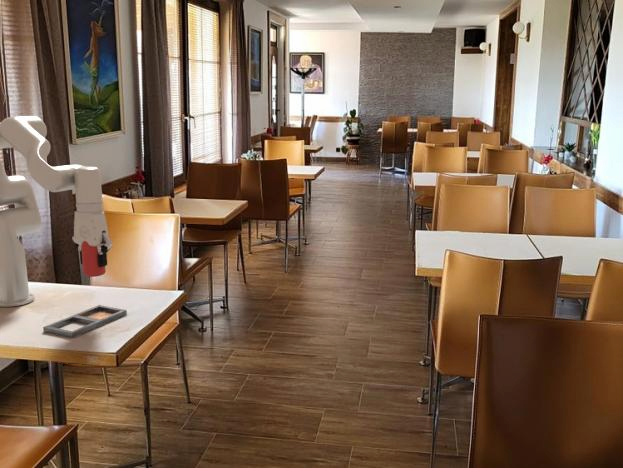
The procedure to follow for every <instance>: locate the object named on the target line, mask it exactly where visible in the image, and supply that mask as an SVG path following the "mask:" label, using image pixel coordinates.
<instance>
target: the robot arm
mask: <svg viewBox="0 0 623 468" xmlns="http://www.w3.org/2000/svg"><path fill="white" fill-rule="evenodd" d="M47 133H48V129H47V125H46V124H45V122H44V121H43V120H42V119H41V118H40V117H38V116H35V115H21V116H20V115H17V116H16V115H14V116H9V117H6V118H4V119H3V120H1V122H0V150H1V149H12V148H13V149H15V150H16V151H17V152H18V153H19V154H21V156H22V157H24V158H25V159H26V167H27V168H26V169H27V170H28V173H29V175H30V177H31V178H32V180H34V181H35V182H36V183H37V184H38V185H39V186H41V187H42V188H43V189H44V190H46V191H49V192H51V193H59V192H65V191H72V190H75V201H76V202H75V207H76V211H75V213H74V221H73V236H72V237H71V239H72V242H73V243H74V244H75V246H76V248H77V252H79V257H80V258H79V260H80V265H83V263H82V250H81V244H82V242H84V241H86V242H88V244H89V245H90V246H94V247H97V250H98V252H99V254H98V267H103V266H105V267H106V266H108V253H109V251H110V250H111V247H112V246H113V245H114V241H112V239H111V237H109V231H108V225H107V219H106V218H107V217H106V215H105V212H104V203H103V192H102V191H103V190H102V176H101V170H100V168H98V167H96V166H85V165H81V164H66V165H65V164H64V165H57V166H51V165H49V164H48V162H46V161H45V159H46V158H47V157H48V156H49V154H50V152H51V147H52V146H51V143H50V141H49V140H48V139H46V136H47ZM10 205H14V207H11V208H6V209H1V210H0V307H1V308H10V307H18V306H24V305H27V304H29V303H32V302H33V301H35V295H34V293H30V291H29V290H30V289H29V281H28V278H29V277H28V270H27V259H26V251H25V248H24V245H23V244H22V243H21V241H20V240H19V239H18V237H20V236H25V235H29V234H33V233H35V232H37V231H39V229H40V228H41V225H42V217H41V212H40V209H39V206H38V202H37V199H36V196H35V192H34V189H33V186H32V184H31V182H30V181H29V180H28V179H27V178H26V177H25V176H23V175H20V174H19V175H16V174H13V175H7V173H6V170H5V167H4V163H3V162H2V160H1V159H0V207H3V206H10ZM101 242H102V244H101ZM101 246H102V247H103V248H102V249H101Z"/></svg>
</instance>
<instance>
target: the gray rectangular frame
mask: <svg viewBox="0 0 623 468" xmlns="http://www.w3.org/2000/svg"><path fill="white" fill-rule="evenodd" d="M127 314H128V311H127V309H123V308H118V307H112V306H108V305H107V306H106V305H101V304H98V305H95V306H93V307H91V308H88V309H86V310H83V311H81V312H79V313H76V314H73V315H71V316H68V317H66V318H65V317H64V318H63V319H60V320H57V321H55V322H53V323H50V324H47V325H46V326H43V329H42V330H43V331H42V332H43V333H47V334H51V335H56V336H60V337H66V338H69V339H74V338H76V337H79V336H81V335H83V334H86V333H88V332H91V331H93V330H95V329H97V328H99V327H102V326H104V325H106V324H109V323H111V322H113V321H115V320H118V319H120V318H123V317H124V316H126V315H127ZM71 323H79V324H83V325H84V326H82V327H80V328H77V329H74V330H68V329H63V328H61V327H64V326H66V325H68V324H71Z"/></svg>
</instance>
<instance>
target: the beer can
mask: <svg viewBox="0 0 623 468" xmlns="http://www.w3.org/2000/svg"><path fill="white" fill-rule="evenodd" d="M101 244H102V242H101ZM102 248H103V247H102V246H101V249H102ZM81 250H82V263H83V264H82V273H83V275H84V276H85V277H89V278H90V277H91V278H92V277H93V278H94V277H96V278H97V277H101V276H103V275H105V274H106V270H107V269H106V266H103V267H98V254H99V252H98V250H97V247H94V246H90V245H89V244H88V242H86V241H84V242H82V244H81Z"/></svg>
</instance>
